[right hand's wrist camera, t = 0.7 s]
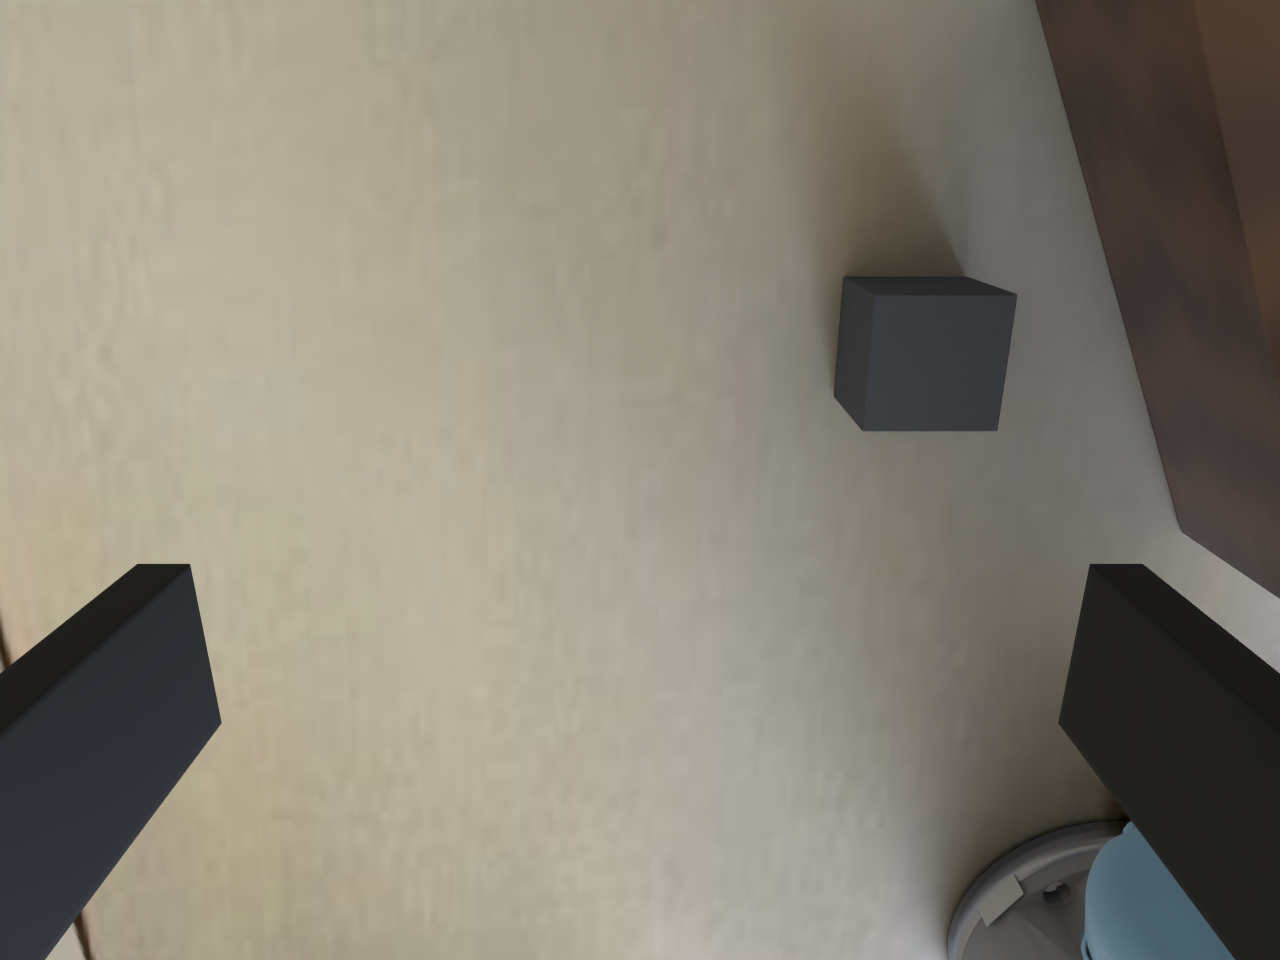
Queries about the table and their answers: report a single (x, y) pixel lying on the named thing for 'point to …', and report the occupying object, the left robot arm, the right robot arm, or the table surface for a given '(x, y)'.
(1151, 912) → the left robot arm
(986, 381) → the grey rubber block
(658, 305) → the table surface
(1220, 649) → the right robot arm
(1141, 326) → the walnut beam
